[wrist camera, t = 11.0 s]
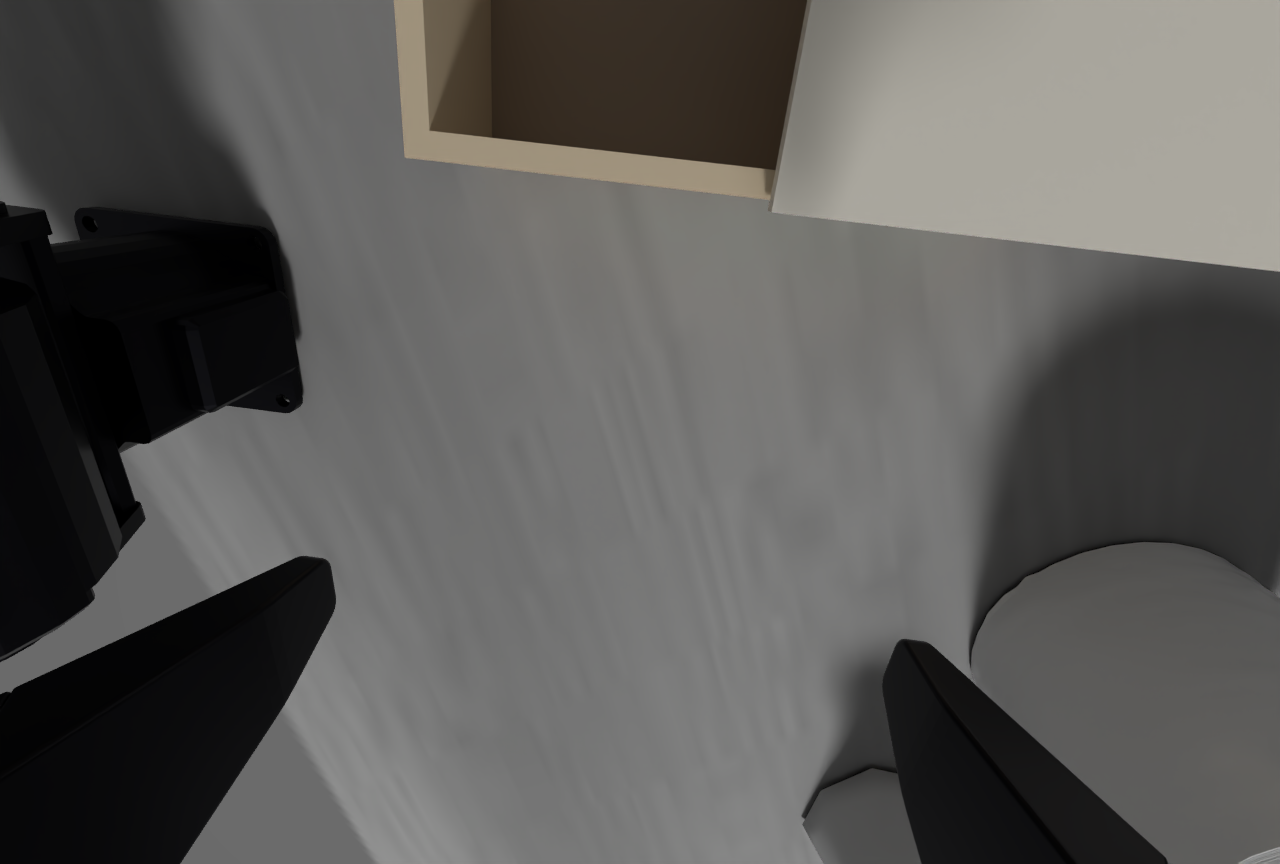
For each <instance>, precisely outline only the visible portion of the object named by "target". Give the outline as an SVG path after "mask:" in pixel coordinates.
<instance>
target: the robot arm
mask: <svg viewBox="0 0 1280 864" xmlns="http://www.w3.org/2000/svg"><path fill="white" fill-rule="evenodd" d="M74 217H75V223H76V227H77V230H78V233H79V236H80V240H78V241H70V242H63V243H55V244H50V242H49V239H48V236H47V235H51V234H52V231H51V228H50V225H49V221H48V218H47V215H46V212H45V210H43V209H35V208H27V207H19V206H10V205H5V202H2V201H0V662H1V661H3V660H6V659H8V658H9V657H11V656H13V655H15V654H17V653H18V652H20V651H22V650H24V649H26V648H27V647H29V646H31V645H33V644H34V643H35V642H37V641H38V640H39V639H41V638H42V637H44V636H46V635H47V634H49V633H51V632H53V631H55V630H56V629H58V628H59V627H61V626H62V625H64V624H65V623H66V622H68V621H69V620H71V619H72V618H73V617H75V616H76V615H77V614H79V613H80V612H82V611H83V610H84V609H85V608H86V607H87V606H88V605H89V604H90V603H91V602H92V601H93V600H94V599H95V594H94V591H93V589H92V587H93V586H94V585H96V584H97V583H98V581H99V580H100V579H101V578H102V576H103V575H104V574H105V573H106V572H107V570H108V569H109V568H110V567H111V565H112V564H113V563H114V562H115V561H116V559H117V558H118V555H119V552H120V550H121V549H122V548H123V547H124V545H125V544H126V543H127V542H128V541H129V539H130V538H131V537H132V536H133V534H134V533H135V532H136V531H137V530H138V528H139V527H140V526H141V525H142V523H143V522H144V521H145V519H146V518H145V515H144V512H143V509H142V505H141V503H140V502H138V501H135V498H134V495H133V492H132V489H131V486H130V483H129V480H128V477H127V474H126V471H125V468H124V465H123V462H122V459H121V456H120V453H121V452H123V451H125V450H127V449H129V448H131V447H133V446H135V445H137V444H139V443H140V444H147V443H150V442H152V441H154V440H156V439H158V438H160V437H162V436H164V435H166V434H168V433H169V432H171V431H173V430H175V429H177V428H179V427H181V426H183V425H185V424H187V423H189V422H191V421H193V420H194V419H196V418H198V417H200V416H202V415H204V414H206V413H208V412H209V413H211V412H215V411H217V410H219V409H221V408H223V407H225V406H234V407H242V408H250V409H258V410H265V411H273V412H281V413H290V412H292V411H294V410H295V409H297V408H299V407H300V406H301V405H302V403H303V397H302V391H301V385H300V379H299V373H298V367H297V366H298V359H297V353H296V347H295V341H294V335H293V328H292V322H291V316H290V310H289V304H288V299H287V297H286V294H285V288H284V282H283V276H282V270H281V264H280V258H279V252H278V246H277V242H276V239H275V237H274V236H273V235H272V233H271V232H270V231H268V230H267V229H266V228H263V227H260V226H252V225H243V224H235V223H227V222H218V221H210V220H202V219H193V218H185V217H177V216H168V215H160V214H152V213H143V212H135V211H127V210H118V209H110V208H102V207H89V208H80V209H78V210H77V211H76V213H75V216H74ZM94 220H95V221H96V223H97V225H98V228H97V227H96V225H95V223H94ZM255 237H257V238H258V239H259V240H260V242H261V244H262V249H259V248H258V247H257V246H256V243H255ZM283 395H285V396H286V397H287V398H288V399H289V401H290V402H287V401H286V400H285V399H284V397H283ZM335 605H336V595H335V589H334V583H333V576H332V570H331V566H330V563H329V562H328V561H327V560H326V559H323V558H317V557H309V556H300V557H297V558H294V559H292V560H290V561H288V562H286V563H284V564H281V565H279V566H277V567H275V568H273V569H271V570H268V571H266V572H264V573H262V574H260V575H258V576H255V577H253V578H251V579H249V580H247V581H245V582H242V583H240V584H238V585H236V586H234V587H232V588H230V589H227V590H225V591H223V592H221V593H219V594H217V595H214V596H212V597H210V598H208V599H206V600H204V601H202V602H199V603H197V604H195V605H193V606H191V607H189V608H186V609H184V610H182V611H180V612H178V613H176V614H173V615H171V616H169V617H167V618H165V619H163V620H160V621H158V622H156V623H154V624H152V625H150V626H147V627H145V628H143V629H141V630H139V631H137V632H135V633H133V634H130V635H128V636H126V637H124V638H121V639H119V640H117V641H115V642H113V643H111V644H108V645H106V646H105V647H102V648H100V649H98V650H96V651H93V652H92V653H89V654H87V655H85V656H83V657H81V658H78V659H76V660H74V661H72V662H70V663H67V664H65V665H63V666H61V667H59V668H57V669H55V670H52V671H50V672H48V673H46V674H44V675H41V676H39V677H37V678H35V679H33V680H31V681H28V682H27V683H24V684H22V685H20V686H18V687H16V688H14V689H13V691H12V692H11V693H10V692H5V693H2V694H0V864H180V863H181V862H182V860H183V859H184V857H185V856H186V854H187V853H188V851H189V850H190V848H191V847H192V845H193V844H194V842H195V840H196V839H197V838H198V836H199V835H200V833H201V831H202V830H203V828H204V827H205V825H206V824H207V822H208V821H209V819H210V818H211V816H212V815H213V813H214V812H215V810H216V809H217V807H218V806H219V804H220V803H221V801H222V800H223V798H224V796H225V795H226V793H227V792H228V790H229V789H230V787H231V786H232V784H233V783H234V781H235V780H236V778H237V777H238V775H239V774H240V772H241V771H242V769H243V768H244V766H245V764H246V763H247V762H248V760H249V758H250V757H251V755H252V754H253V752H254V751H255V749H256V748H257V746H258V745H259V743H260V742H261V740H262V739H263V737H264V736H265V734H266V733H267V731H268V730H269V728H270V727H271V725H272V724H273V722H274V720H275V719H276V717H277V716H278V714H279V713H280V711H281V709H282V708H283V706H284V705H285V703H286V701H287V699H288V698H289V696H290V694H291V692H292V691H293V689H294V687H295V685H296V683H297V681H298V679H299V677H300V675H301V674H302V672H303V670H304V668H305V666H306V664H307V662H308V660H309V658H310V656H311V655H312V653H313V651H314V649H315V647H316V645H317V643H318V641H319V639H320V637H321V635H322V634H323V632H324V630H325V628H326V626H327V624H328V622H329V620H330V618H331V616H332V614H333V612H334V609H335ZM882 689H883V696H884V702H885V707H886V713H887V718H888V724H889V729H890V735H891V740H892V746H893V751H894V757H895V763H896V768H897V774H898V779H899V784H900V788H901V793H902V797H903V801H904V805H905V809H906V812H907V816H908V819H909V823H910V826H911V830H912V833H913V837H914V840H915V844H916V847H917V850H918V854H919V857H920V861H921V864H1168V861H1167V859H1166V857H1165V856H1164V855H1163V854H1161V853H1160V852H1159V851H1158V850H1157V849H1156V848H1155V847H1154V846H1153V845H1152V844H1150V843H1149V842H1148V841H1147V840H1146V839H1145V838H1144V837H1143V836H1142V835H1140V834H1139V833H1138V832H1137V831H1136V830H1135V829H1134V828H1133V827H1132V826H1131V825H1129V824H1128V823H1127V822H1126V821H1125V820H1124V819H1123V818H1122V817H1121V816H1120V815H1118V814H1117V813H1116V812H1115V811H1114V810H1113V809H1112V808H1111V807H1110V806H1109V805H1107V804H1106V803H1105V802H1104V801H1103V800H1102V799H1101V798H1100V797H1099V796H1097V795H1096V794H1095V793H1094V792H1093V791H1092V790H1091V789H1090V788H1089V787H1088V786H1086V785H1085V784H1084V783H1083V782H1082V781H1081V780H1080V779H1079V778H1078V777H1077V776H1075V775H1074V774H1073V773H1072V772H1071V771H1070V770H1069V769H1068V768H1067V767H1066V766H1064V765H1063V764H1062V763H1061V762H1060V761H1059V760H1058V759H1057V758H1056V757H1054V756H1053V755H1052V754H1051V753H1050V752H1049V751H1048V750H1047V749H1046V748H1045V747H1043V746H1042V745H1041V744H1040V743H1039V742H1038V741H1037V740H1036V739H1035V738H1034V737H1032V736H1031V735H1030V734H1029V733H1028V732H1027V731H1026V730H1025V729H1024V728H1023V727H1021V726H1020V725H1019V724H1018V723H1017V722H1016V721H1015V720H1014V719H1013V718H1011V717H1010V716H1009V715H1008V714H1007V713H1006V712H1005V711H1004V710H1003V709H1002V708H1000V707H999V706H998V705H997V704H996V703H995V702H994V701H993V700H992V699H991V698H989V697H988V696H987V695H986V694H985V693H984V692H983V691H982V690H981V689H980V688H978V687H977V686H976V685H975V684H974V683H973V682H972V681H971V680H970V679H968V678H967V677H966V676H965V675H964V674H963V673H962V672H961V671H960V670H959V669H957V668H956V667H955V666H954V665H953V664H952V663H951V662H950V661H949V660H948V659H946V658H945V657H944V656H943V655H942V654H941V653H940V652H939V651H938V650H937V649H935V648H934V647H933V646H932V645H931V644H929V643H927V642H924V641H917V640H909V639H902V640H900V641H899V642H898V643H897V644H896V646H895V648H894V651H893V653H892V656H891V658H890V661H889V663H888V666H887V668H886V671H885V673H884V676H883V683H882Z"/></svg>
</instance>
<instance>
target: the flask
mask: <svg viewBox="0 0 1280 864" xmlns="http://www.w3.org/2000/svg"><path fill="white" fill-rule="evenodd" d="M803 826H804V828H805V830H806V832H807V834H808V836H809V838H810V840H811V842H812V843H813V845H814V847H815V849H816V851H817V852H818V854H819V856H820V858H821V860H822V861H823V863H824V864H921V861H920V857H919V854H918V850H917V847H916V844H915V840H914V837H913V833H912V830H911V826H910V823H909V819H908V816H907V812H906V809H905V805H904V801H903V797H902V793H901V788H900V784H899V779H898V774H897V773H892V772H887V771H882V770H878V769H873V768H871V769H869V770H867V771H864V772H862V773H860V774H857V775H855V776H853V777H850V778H848V779H846V780H844V781H841V782H839V783H837V784H834V785H832V786H830V787H827V788H825V789H823V790H821V791H820V793H819V795H818V796H817V798H816V800H815V802H814V804H813V806H812V808H811V809H810V811H809V813H808V815H807V817H806V819H805V821H804V822H803Z"/></svg>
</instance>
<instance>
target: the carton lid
mask: <svg viewBox="0 0 1280 864" xmlns="http://www.w3.org/2000/svg"><path fill="white" fill-rule="evenodd" d="M768 211H770V212H771V213H780V214H788V215H797V216H806V217H814V218H823V219H831V220H840V221H849V222H857V223H866V224H874V225H883V226H892V227H900V228H909V229H917V230H926V231H935V232H943V233H952V234H960V235H969V236H978V237H986V238H995V239H1003V240H1012V241H1021V242H1029V243H1038V244H1046V245H1055V246H1064V247H1072V248H1081V249H1089V250H1098V251H1107V252H1115V253H1124V254H1132V255H1141V256H1150V257H1158V258H1167V259H1175V260H1184V261H1193V262H1201V263H1210V264H1218V265H1227V266H1236V267H1244V268H1253V269H1261V270H1270V271H1279V272H1280V0H807V4H806V10H805V15H804V20H803V26H802V31H801V37H800V42H799V47H798V53H797V58H796V63H795V69H794V74H793V79H792V85H791V90H790V95H789V101H788V106H787V111H786V117H785V122H784V127H783V133H782V138H781V143H780V149H779V154H778V159H777V165H776V170H775V175H774V181H773V186H772V191H771V197H770V202H769V207H768Z"/></svg>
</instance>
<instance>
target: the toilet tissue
mask: <svg viewBox="0 0 1280 864" xmlns="http://www.w3.org/2000/svg"><path fill="white" fill-rule="evenodd" d="M971 671H972V675H973V679H974V683H975V685H976V686H977V687H978V688H980V689H981V690H982V691H983V692H984V693H985V694H986V695H987V696H988V697H989V698H991V699H992V700H993V701H994V702H995V703H996V704H997V705H998V706H999V707H1000V708H1002V709H1003V710H1004V711H1005V712H1006V713H1007V714H1008V715H1009V716H1010V717H1011V718H1013V719H1014V720H1015V721H1016V722H1017V723H1018V724H1019V725H1020V726H1021V727H1023V728H1024V729H1025V730H1026V731H1027V732H1028V733H1029V734H1030V735H1031V736H1032V737H1034V738H1035V739H1036V740H1037V741H1038V742H1039V743H1040V744H1041V745H1042V746H1043V747H1045V748H1046V749H1047V750H1048V751H1049V752H1050V753H1051V754H1052V755H1053V756H1054V757H1056V758H1057V759H1058V760H1059V761H1060V762H1061V763H1062V764H1063V765H1064V766H1066V767H1067V768H1068V769H1069V770H1070V771H1071V772H1072V773H1073V774H1074V775H1075V776H1077V777H1078V778H1079V779H1080V780H1081V781H1082V782H1083V783H1084V784H1085V785H1086V786H1088V787H1089V788H1090V789H1091V790H1092V791H1093V792H1094V793H1095V794H1096V795H1097V796H1099V797H1100V798H1101V799H1102V800H1103V801H1104V802H1105V803H1106V804H1107V805H1109V806H1110V807H1111V808H1112V809H1113V810H1114V811H1115V812H1116V813H1117V814H1118V815H1120V816H1121V817H1122V818H1123V819H1124V820H1125V821H1126V822H1127V823H1128V824H1129V825H1131V826H1132V827H1133V828H1134V829H1135V830H1136V831H1137V832H1138V833H1139V834H1140V835H1142V836H1143V837H1144V838H1145V839H1146V840H1147V841H1148V842H1149V843H1150V844H1152V845H1153V846H1154V847H1155V848H1156V849H1157V850H1158V851H1159V852H1160V853H1161V854H1163V855H1164V856H1165V857H1166V859H1167V861H1168V864H1280V598H1279V597H1278V596H1276V594H1274V593H1273V592H1272V591H1270V590H1268V589H1266V588H1265V587H1263V586H1262V585H1261V584H1260V583H1259V582H1258V581H1257V580H1256V579H1254V578H1253V577H1251V576H1250V575H1249V574H1247V573H1245V572H1243V571H1242V570H1240V569H1238V568H1237V567H1235V566H1234V565H1232V564H1231V563H1230V562H1228V561H1227V560H1225V559H1224V558H1222V557H1219V556H1217V555H1214V554H1212V553H1210V552H1207V551H1205V550H1203V549H1199V548H1194V547H1190V546H1185V545H1180V544H1175V543H1156V542H1139V543H1130V544H1121V545H1112V546H1108V547H1104V548H1100V549H1096V550H1092V551H1088V552H1084V553H1080V554H1078V555H1075V556H1073V557H1070V558H1068V559H1065V560H1063V561H1060V562H1058V563H1055V564H1053V565H1051V566H1049V567H1047V568H1046V569H1044V570H1042V571H1040V572H1038V573H1035V574H1032V575H1029V576H1027V577H1025V578H1024V579H1023V580H1022V581H1021V583H1020V584H1019V585H1018V586H1017V587H1016V588H1014V589H1013V590H1011V591H1010V592H1008V593H1006V594H1005V595H1004V596H1003V597H1002V598H1001V599H1000V600H999V601H998V602H997V604H996V605H995V606H994V607H993V608H992V609H991V610H990V611H989V612H988V614H987V616H986V618H985V620H984V622H983V624H982V626H981V628H980V630H979V631H978V634H977V637H976V640H975V643H974V646H973V649H972V658H971Z"/></svg>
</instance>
